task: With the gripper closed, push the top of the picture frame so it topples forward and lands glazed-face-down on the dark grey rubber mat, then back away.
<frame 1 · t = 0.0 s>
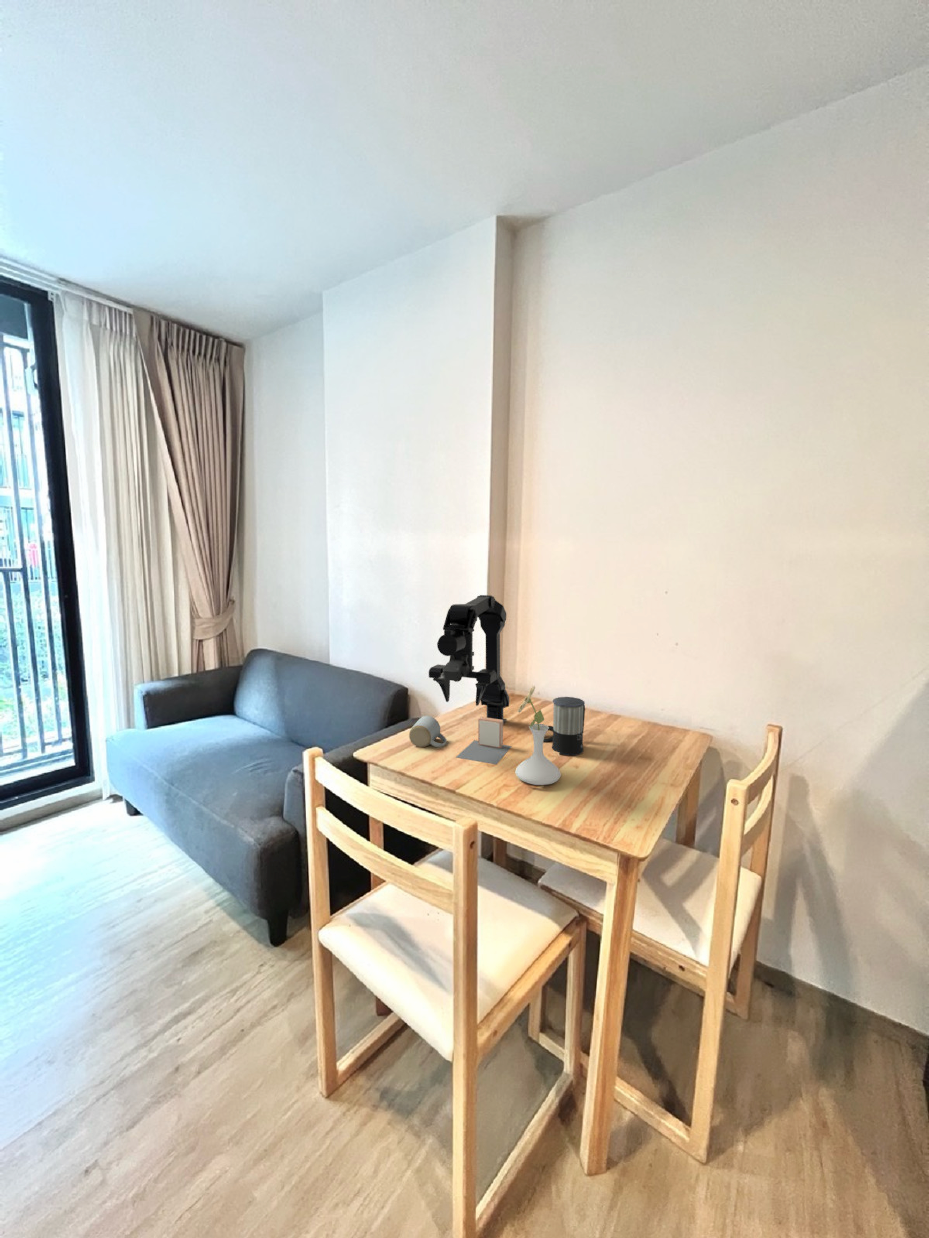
hand: (462, 703, 139), 15 cm above the table, fingers open, 9 cm apart
picture frame: (490, 745, 146), resting on mat
mat: (484, 753, 141), on the table
milk frother: (557, 746, 147), on the table
ceramic mug: (428, 744, 148), on the table
flower in vase: (535, 781, 124), on the table
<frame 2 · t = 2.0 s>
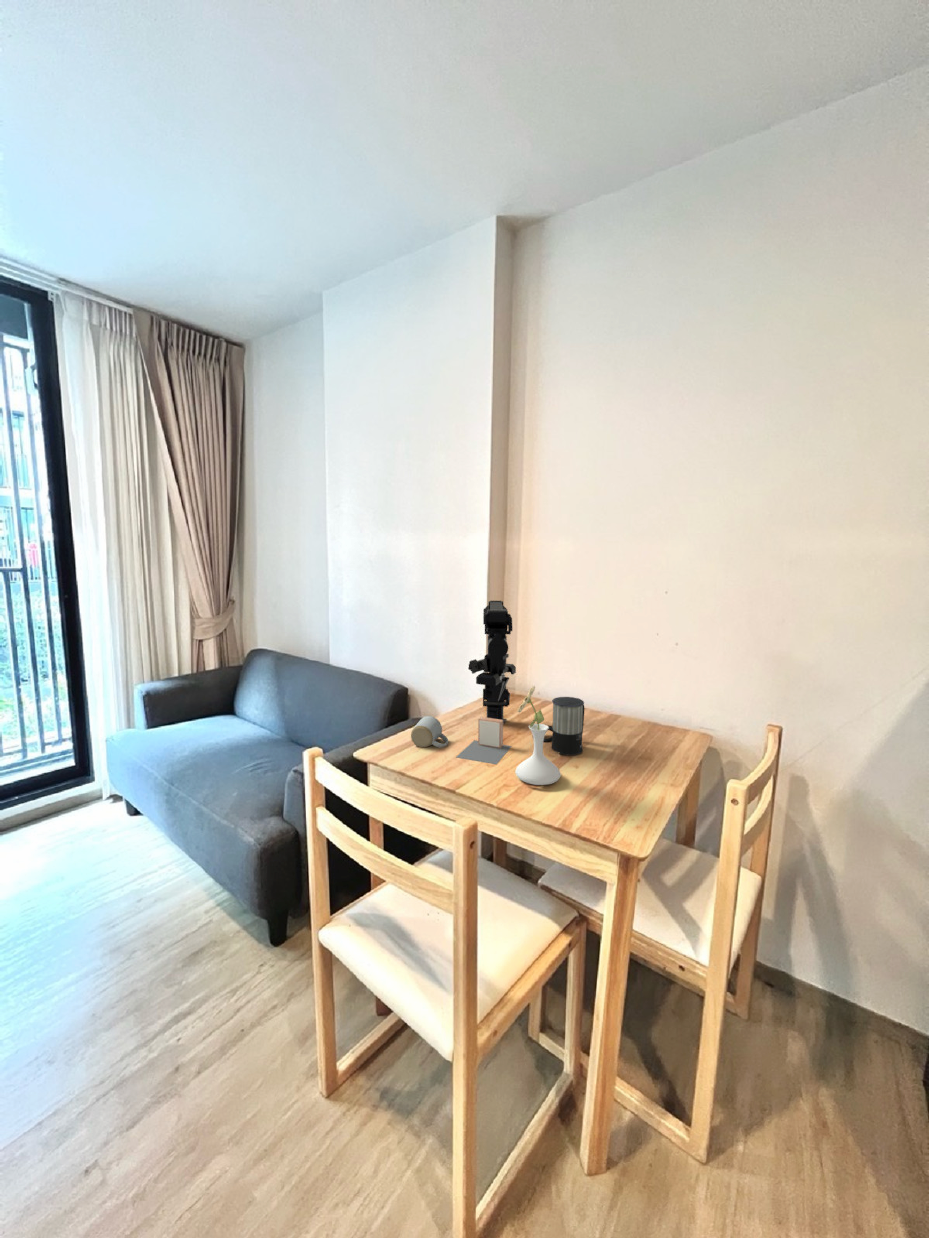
hand: (496, 701, 151), 12 cm above the table, fingers closed
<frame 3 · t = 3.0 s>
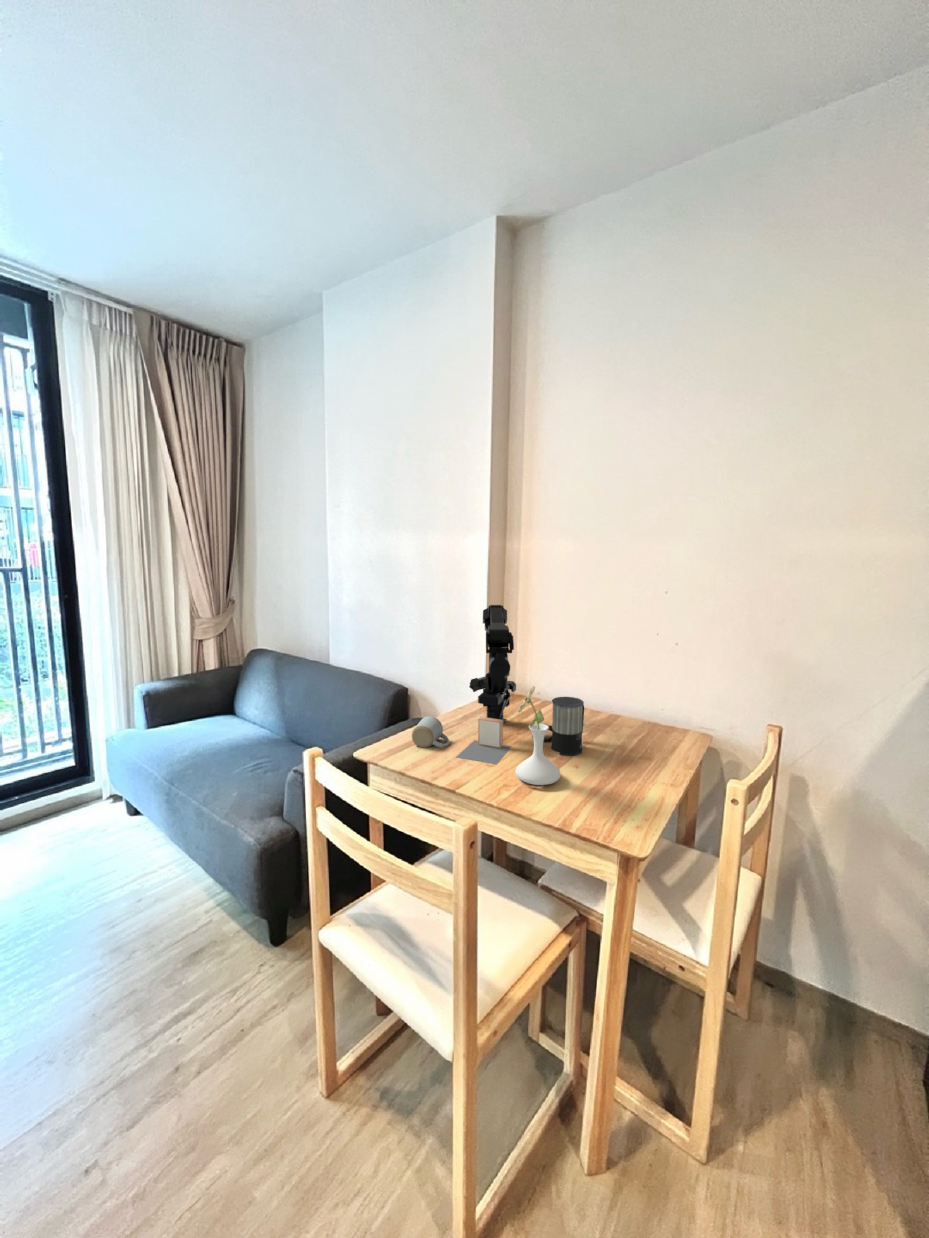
hand: (497, 719, 151), 7 cm above the table, fingers closed
nothing on the table moved.
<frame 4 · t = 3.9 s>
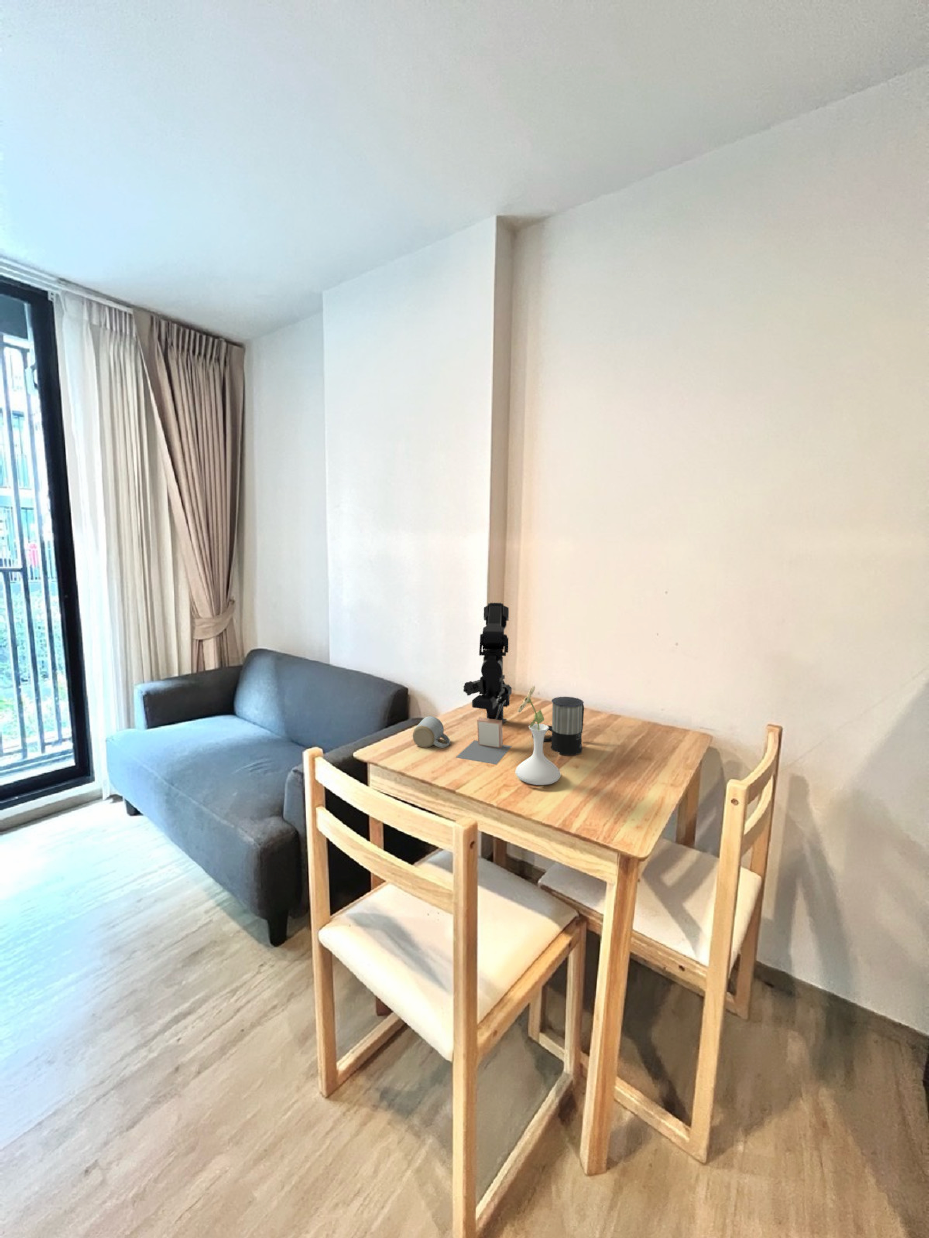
hand: (492, 723, 146), 7 cm above the table, fingers closed
picture frame: (490, 744, 146), point 1 cm above the table, tilted 7°, touching mat
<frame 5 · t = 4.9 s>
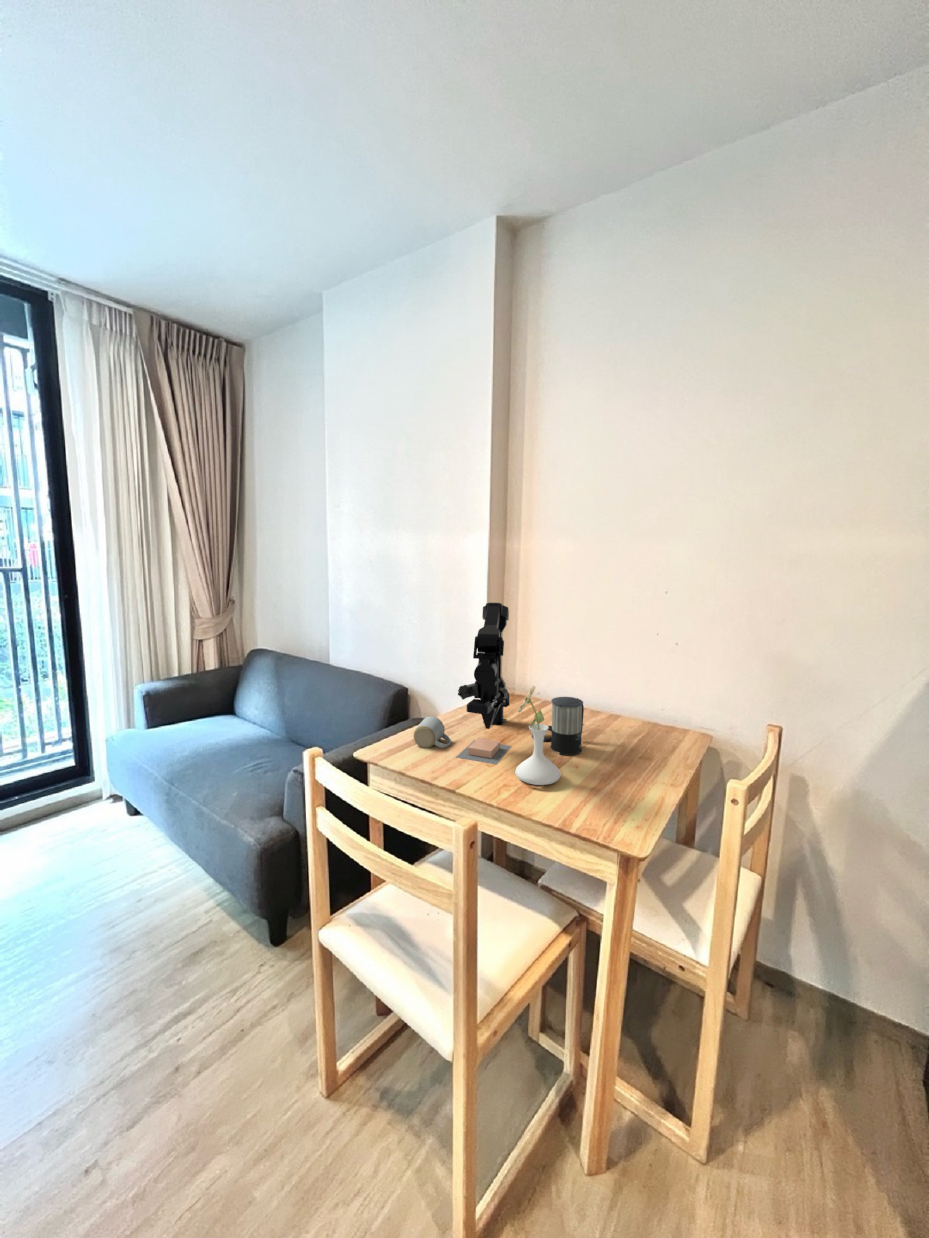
hand: (487, 728, 143), 7 cm above the table, fingers closed
picture frame: (489, 742, 144), point 2 cm above the table, tilted 90°, touching mat
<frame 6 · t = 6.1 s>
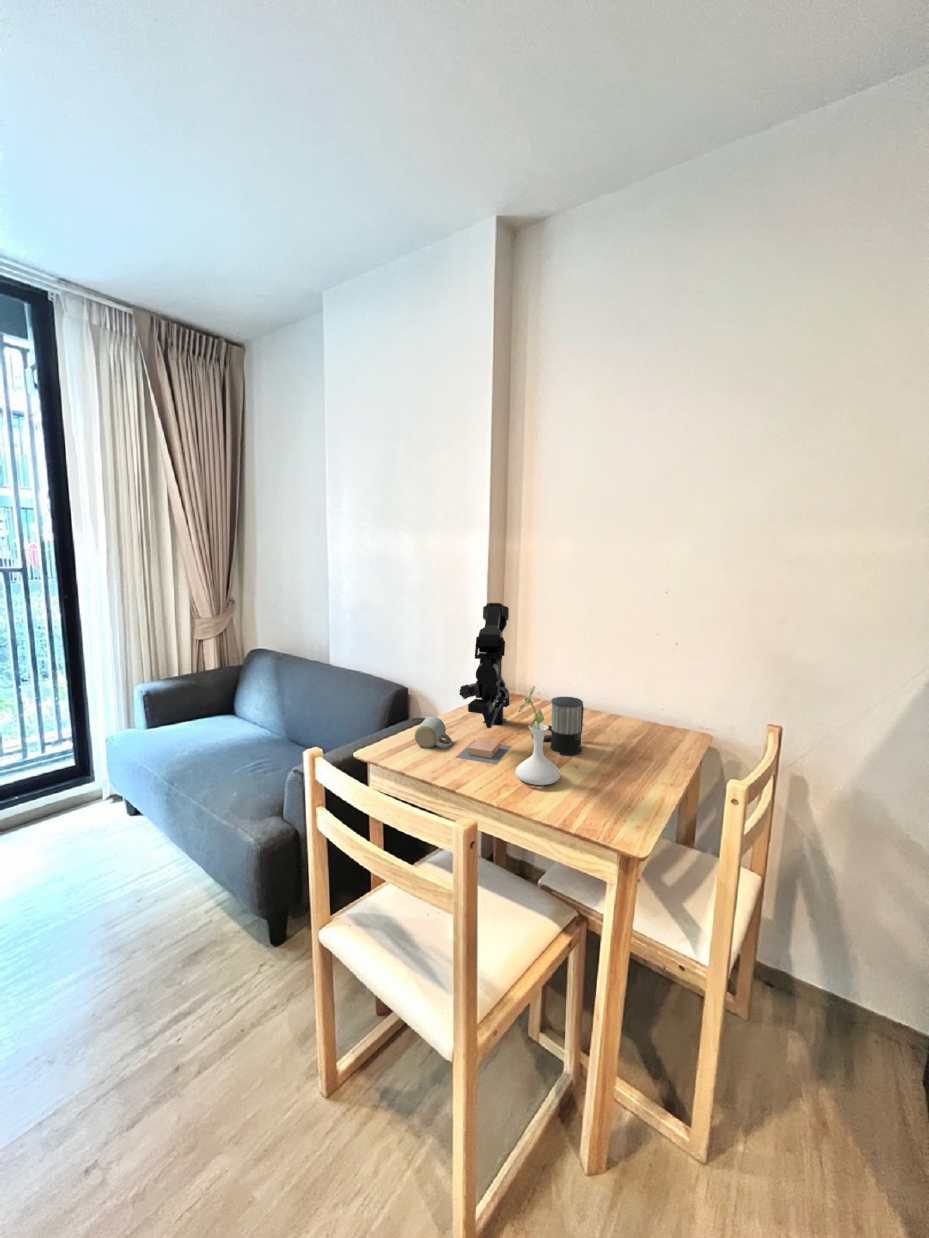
hand: (489, 727, 144), 6 cm above the table, fingers closed
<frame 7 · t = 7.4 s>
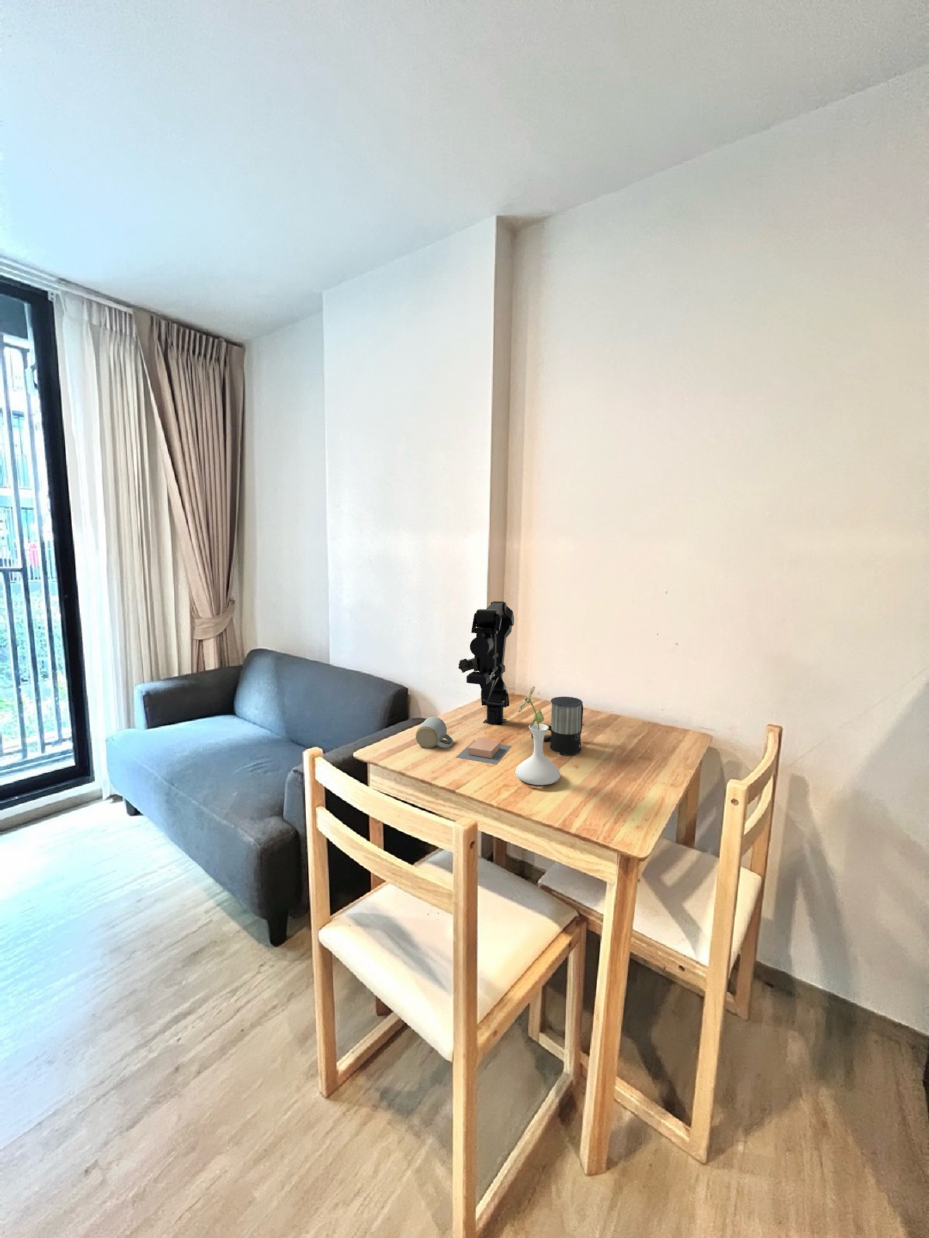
hand: (486, 699, 152), 12 cm above the table, fingers closed
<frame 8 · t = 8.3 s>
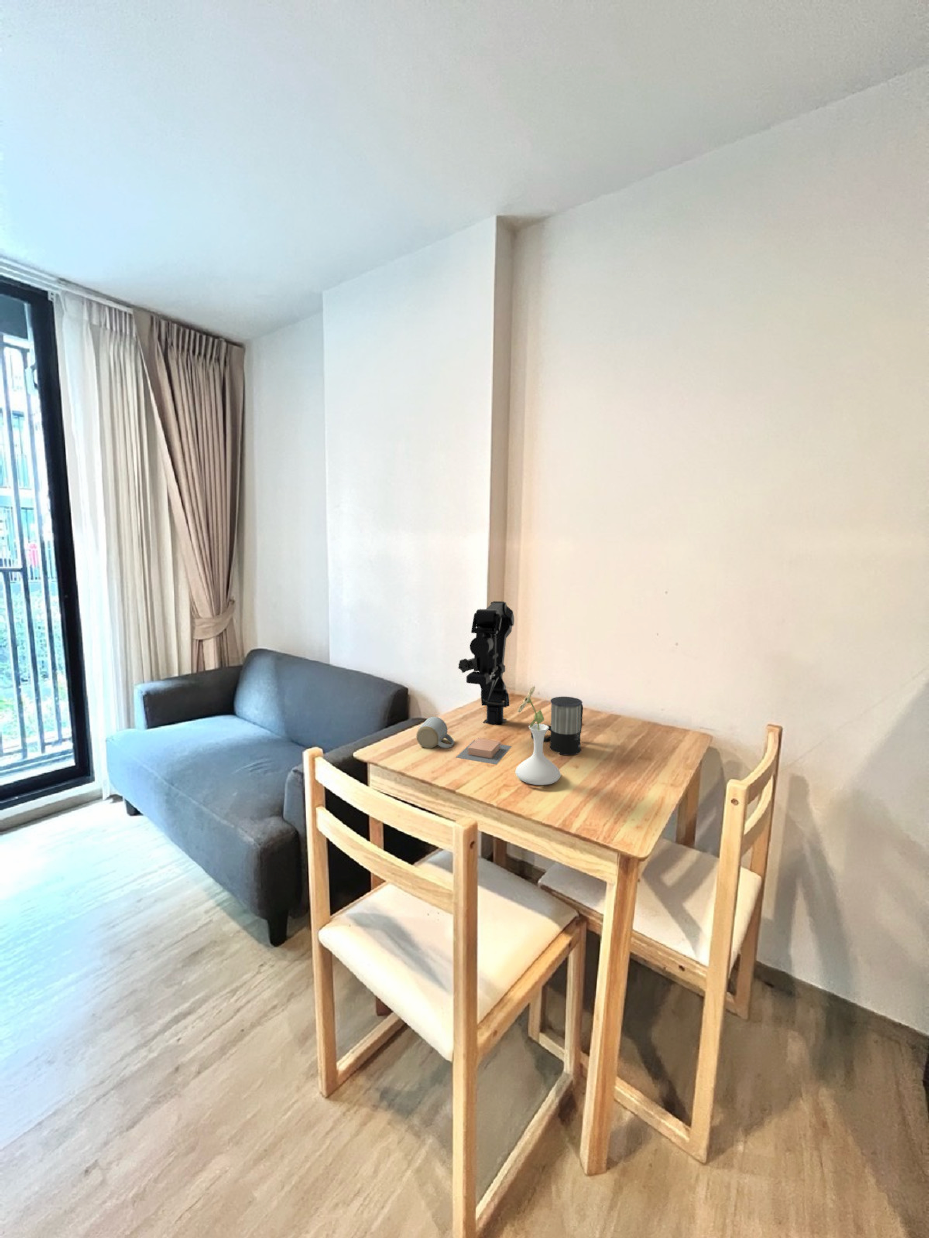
hand: (486, 699, 152), 12 cm above the table, fingers closed
at the end: picture frame tilted 90°; picture frame inside the target area on the mat (4.4 cm from its centre), point 1.7 cm above the mat's base; the gripper is holding nothing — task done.
